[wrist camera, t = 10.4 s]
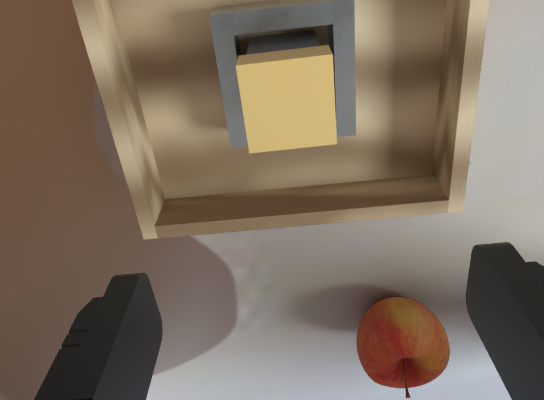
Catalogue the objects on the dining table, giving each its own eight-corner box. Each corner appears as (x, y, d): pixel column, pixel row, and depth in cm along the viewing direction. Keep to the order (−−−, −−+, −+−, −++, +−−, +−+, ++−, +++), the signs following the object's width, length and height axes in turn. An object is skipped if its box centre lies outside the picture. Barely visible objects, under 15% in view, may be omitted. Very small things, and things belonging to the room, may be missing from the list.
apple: (439, 279, 40) (474, 352, 33) (422, 338, 44) (450, 415, 37) (355, 276, 40) (372, 349, 33) (345, 336, 43) (359, 413, 37)
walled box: (441, 180, 35) (462, 211, 31) (157, 206, 36) (143, 239, 32) (472, -146, 25) (509, -160, 21) (75, -95, 26) (41, -99, 22)
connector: (317, 23, 28) (332, 54, 21) (322, 95, 31) (337, 144, 24) (244, 32, 29) (235, 65, 22) (254, 103, 31) (249, 153, 24)
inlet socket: (349, 118, 31) (356, 135, 29) (233, 129, 32) (230, 147, 29) (346, -9, 27) (354, -2, 25) (214, 7, 28) (208, 14, 25)
